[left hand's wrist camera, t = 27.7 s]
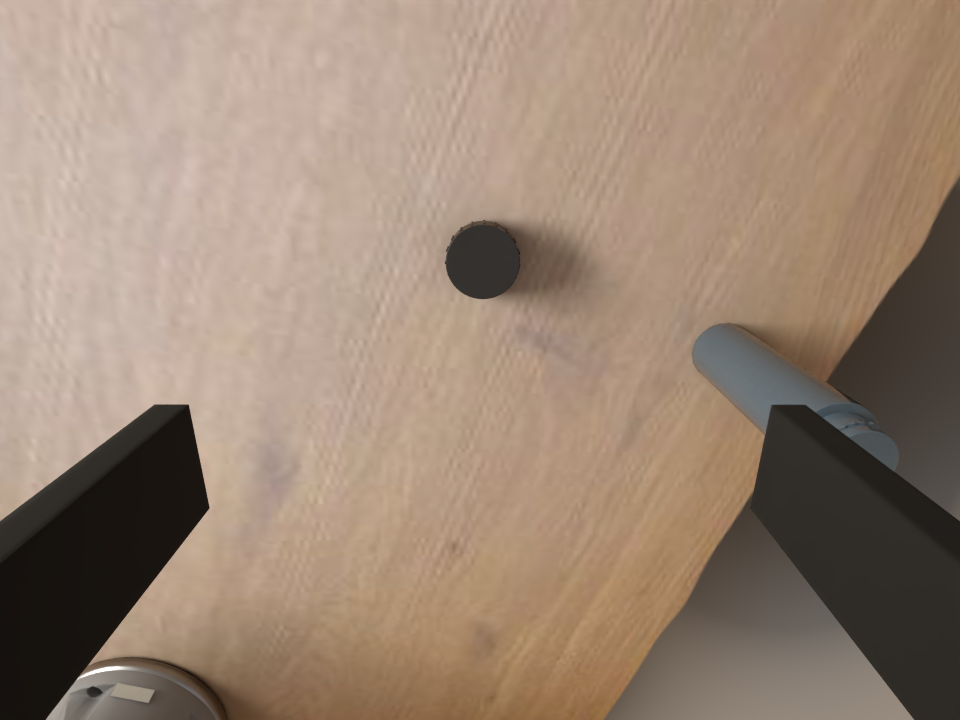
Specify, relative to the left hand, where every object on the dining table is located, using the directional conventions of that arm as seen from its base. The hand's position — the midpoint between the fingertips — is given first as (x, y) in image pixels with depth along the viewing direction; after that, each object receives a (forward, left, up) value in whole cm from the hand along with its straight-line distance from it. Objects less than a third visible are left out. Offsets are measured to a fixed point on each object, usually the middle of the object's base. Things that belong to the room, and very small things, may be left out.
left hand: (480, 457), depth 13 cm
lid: (0, 0, -24) cm, 24 cm away
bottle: (+3, -18, -26) cm, 32 cm away
